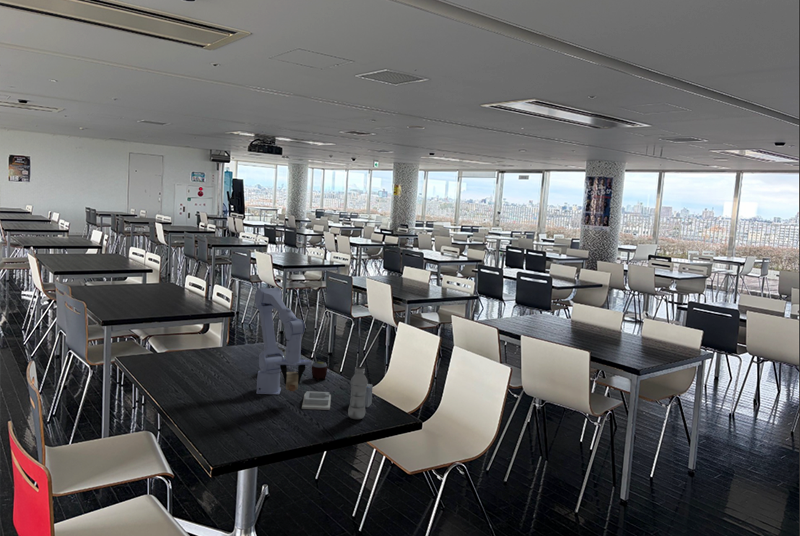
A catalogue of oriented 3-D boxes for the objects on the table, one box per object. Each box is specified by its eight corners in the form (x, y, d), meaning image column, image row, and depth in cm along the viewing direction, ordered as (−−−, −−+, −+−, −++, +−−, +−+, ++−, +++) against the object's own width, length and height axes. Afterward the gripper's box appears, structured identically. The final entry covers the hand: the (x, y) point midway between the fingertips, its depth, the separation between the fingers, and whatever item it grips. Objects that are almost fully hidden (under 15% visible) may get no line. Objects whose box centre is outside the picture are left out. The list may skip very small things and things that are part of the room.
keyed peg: (286, 391, 233) (287, 376, 233) (285, 386, 239) (286, 371, 238) (297, 391, 235) (298, 376, 234) (296, 386, 240) (297, 371, 240)
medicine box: (371, 404, 245) (373, 384, 244) (367, 408, 241) (369, 387, 240) (354, 401, 248) (355, 381, 247) (349, 404, 244) (351, 384, 243)
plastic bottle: (347, 414, 232) (350, 365, 230) (364, 415, 233) (368, 366, 231) (347, 421, 226) (350, 370, 224) (365, 421, 227) (368, 371, 224)
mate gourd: (328, 377, 276) (329, 346, 274) (324, 382, 268) (326, 350, 266) (312, 376, 277) (314, 344, 275) (308, 381, 269) (309, 349, 267)
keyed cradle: (301, 408, 235) (302, 401, 235) (304, 395, 250) (305, 388, 249) (329, 409, 236) (330, 402, 236) (330, 396, 251) (331, 390, 250)
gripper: (275, 352, 230) (273, 386, 232) (312, 352, 234) (311, 386, 235) (274, 348, 237) (272, 380, 238) (310, 348, 241) (309, 380, 242)
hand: (291, 383), depth 237 cm, fingers closed on keyed peg, 4 cm apart
